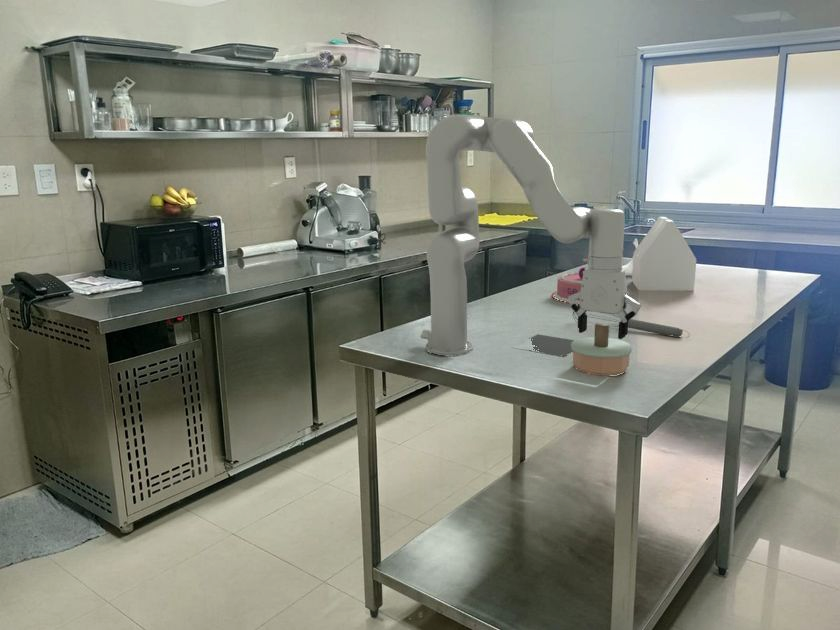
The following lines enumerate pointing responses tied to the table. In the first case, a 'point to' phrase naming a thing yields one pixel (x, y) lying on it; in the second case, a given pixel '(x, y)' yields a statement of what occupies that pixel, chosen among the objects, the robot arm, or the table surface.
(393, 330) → the table surface
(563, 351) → the mat
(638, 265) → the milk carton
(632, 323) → the kitchen whisk
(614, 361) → the bowl
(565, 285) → the cake
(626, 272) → the white curved piece
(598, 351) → the lid
